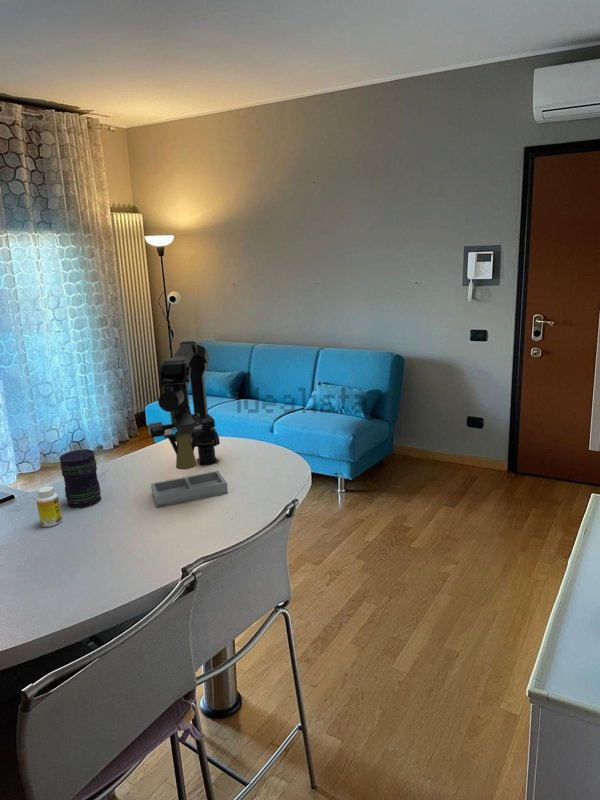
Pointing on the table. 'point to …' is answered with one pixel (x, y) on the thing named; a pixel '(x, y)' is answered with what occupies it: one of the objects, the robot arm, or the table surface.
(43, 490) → the supplement bottle
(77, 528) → the table surface
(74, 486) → the storage jar
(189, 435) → the olive rounded piece
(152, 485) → the caddy
